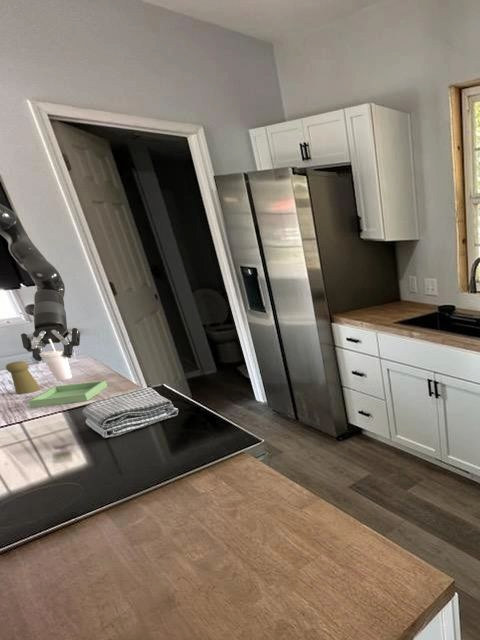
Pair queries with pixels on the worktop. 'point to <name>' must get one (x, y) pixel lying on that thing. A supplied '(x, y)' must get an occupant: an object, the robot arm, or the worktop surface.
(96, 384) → the tray
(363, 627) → the worktop surface
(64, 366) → the smoothie
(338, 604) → the worktop surface
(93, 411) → the towel
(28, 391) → the cork
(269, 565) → the worktop surface
